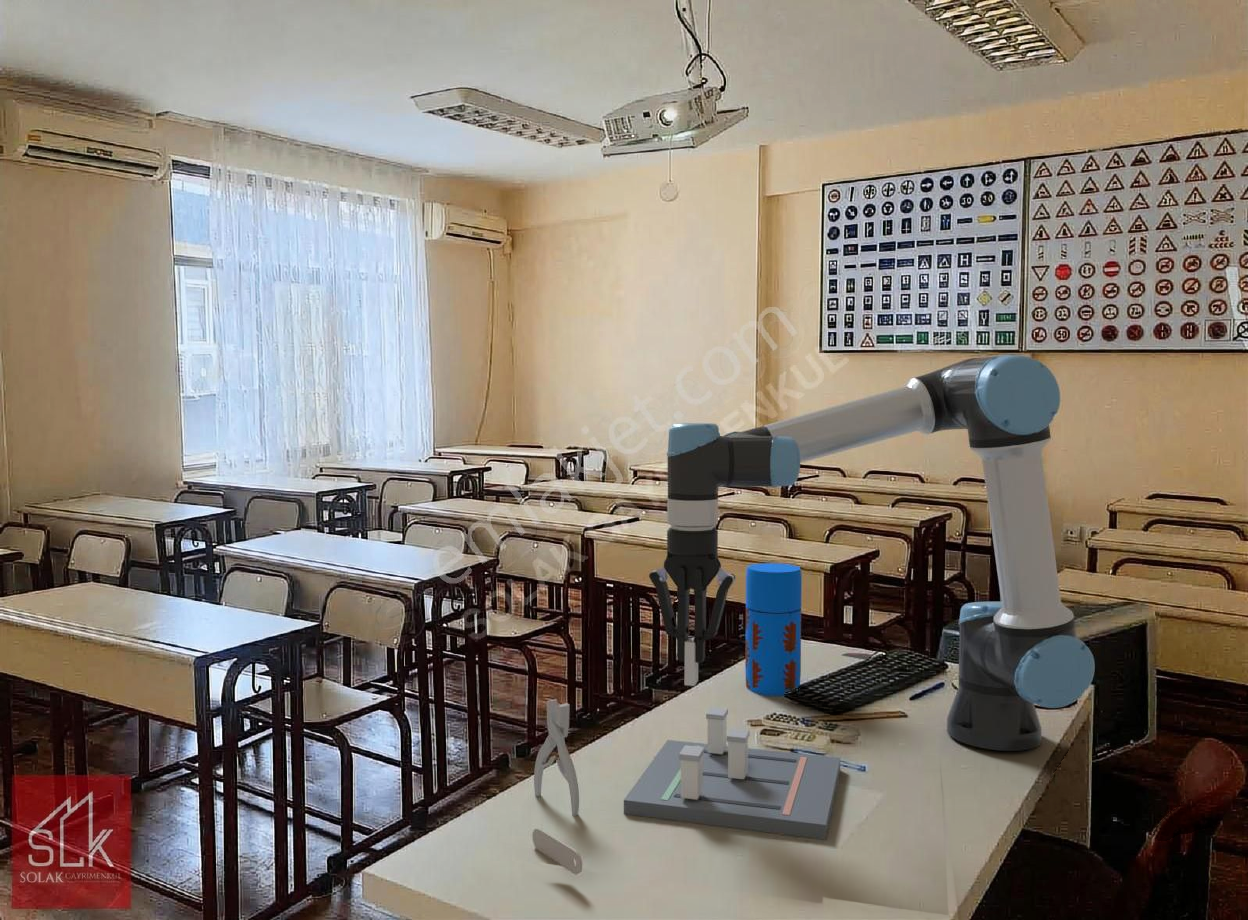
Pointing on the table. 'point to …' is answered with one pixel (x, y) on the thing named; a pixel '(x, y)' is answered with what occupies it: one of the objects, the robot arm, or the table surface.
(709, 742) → the block
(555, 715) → the pliers
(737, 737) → the block
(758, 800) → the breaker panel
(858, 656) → the usb drive
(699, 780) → the block
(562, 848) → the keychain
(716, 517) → the robot arm
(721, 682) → the table surface
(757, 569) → the thermos
